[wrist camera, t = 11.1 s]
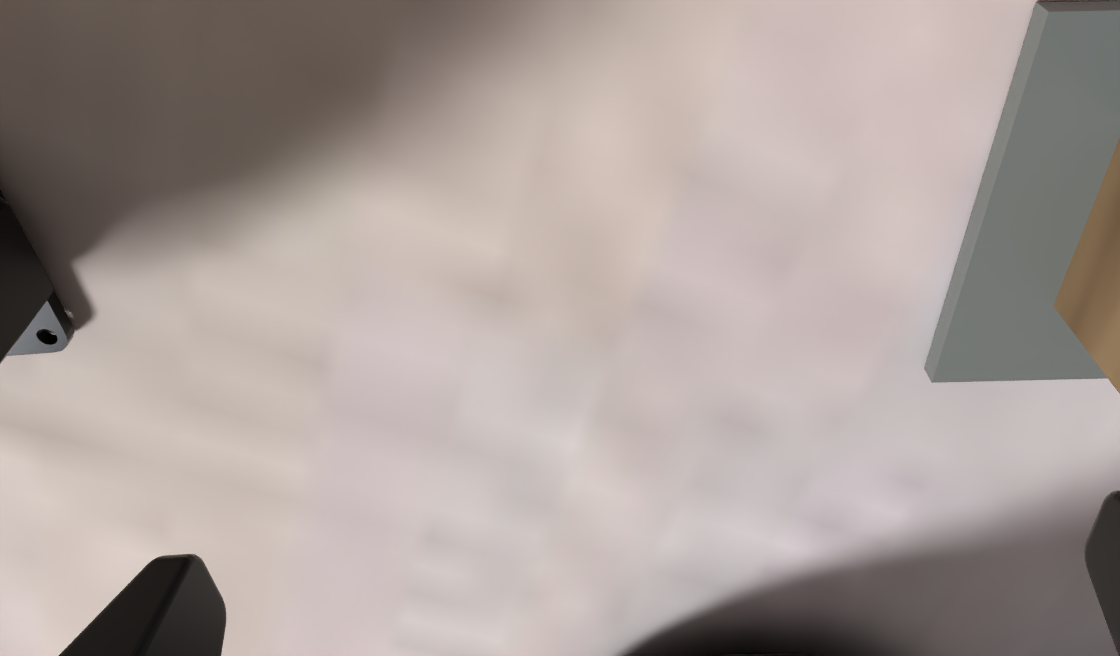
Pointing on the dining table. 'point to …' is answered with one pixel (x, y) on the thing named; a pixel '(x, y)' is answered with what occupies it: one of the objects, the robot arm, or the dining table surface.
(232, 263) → the dining table surface
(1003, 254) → the slate coaster
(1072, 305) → the walnut block
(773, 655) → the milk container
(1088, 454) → the dining table surface
